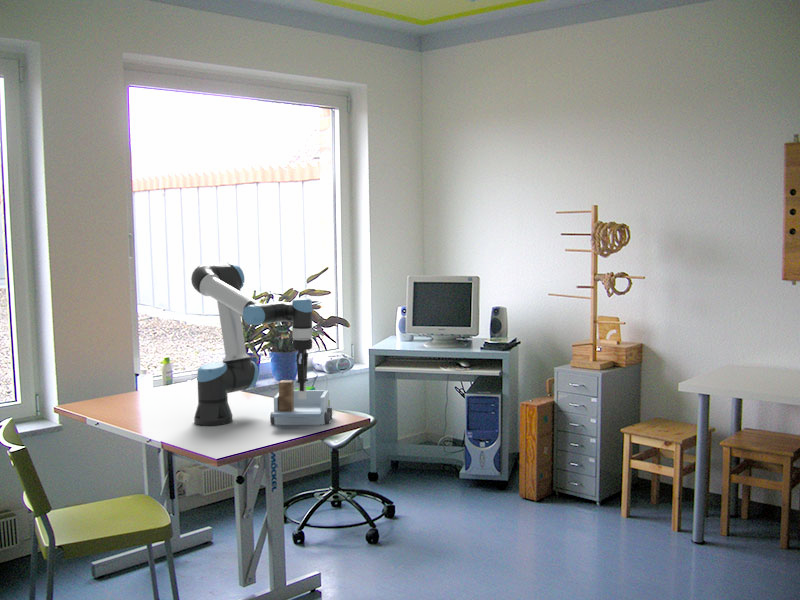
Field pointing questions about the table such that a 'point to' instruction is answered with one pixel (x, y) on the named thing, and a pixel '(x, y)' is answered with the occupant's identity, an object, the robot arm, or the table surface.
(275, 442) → the table surface
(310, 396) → the truck bed
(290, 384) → the brown wooden block
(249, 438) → the table surface
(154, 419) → the table surface
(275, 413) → the tailgate
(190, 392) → the table surface
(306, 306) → the robot arm
